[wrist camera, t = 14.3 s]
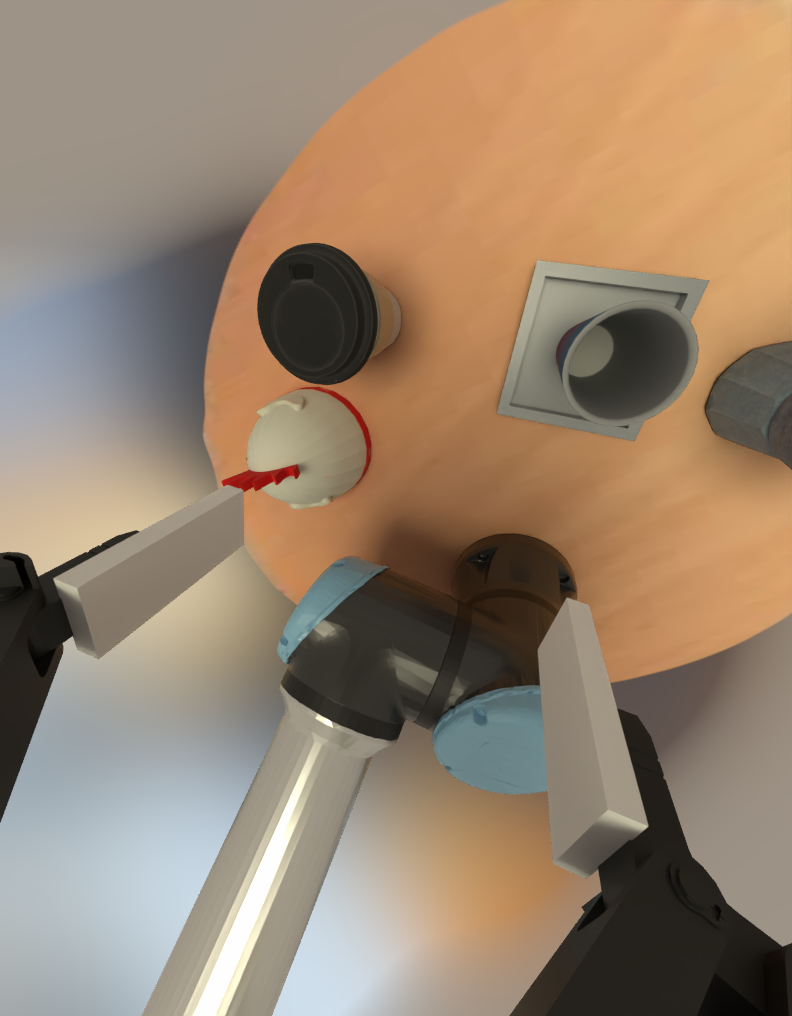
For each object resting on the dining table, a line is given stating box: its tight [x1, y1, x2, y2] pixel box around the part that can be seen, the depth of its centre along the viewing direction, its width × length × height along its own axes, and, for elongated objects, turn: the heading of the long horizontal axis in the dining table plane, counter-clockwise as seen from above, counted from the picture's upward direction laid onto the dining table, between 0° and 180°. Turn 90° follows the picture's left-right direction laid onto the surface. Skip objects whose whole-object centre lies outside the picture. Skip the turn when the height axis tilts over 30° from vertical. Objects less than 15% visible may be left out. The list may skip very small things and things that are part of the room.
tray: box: [496, 260, 710, 441], centre depth 34 cm, size 13×13×2 cm
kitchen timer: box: [222, 387, 371, 509], centre depth 41 cm, size 14×14×15 cm
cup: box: [556, 300, 699, 426], centre depth 27 cm, size 7×7×15 cm
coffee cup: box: [257, 243, 402, 385], centre depth 32 cm, size 9×9×15 cm
